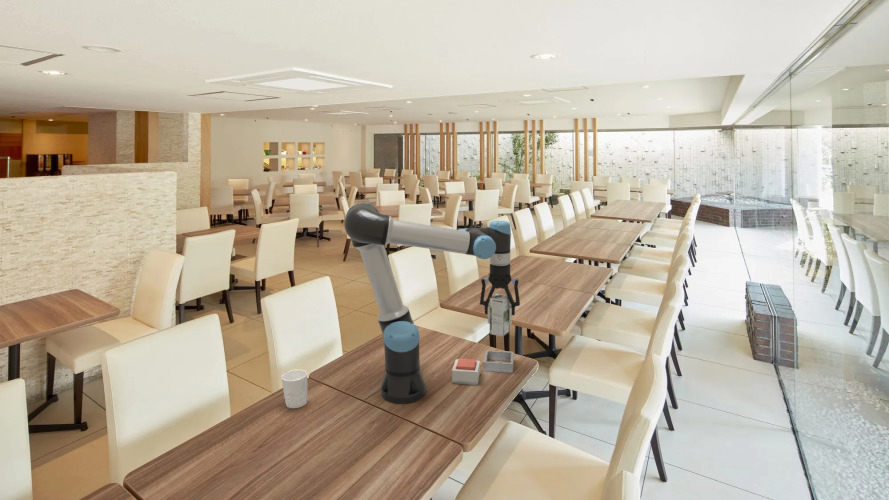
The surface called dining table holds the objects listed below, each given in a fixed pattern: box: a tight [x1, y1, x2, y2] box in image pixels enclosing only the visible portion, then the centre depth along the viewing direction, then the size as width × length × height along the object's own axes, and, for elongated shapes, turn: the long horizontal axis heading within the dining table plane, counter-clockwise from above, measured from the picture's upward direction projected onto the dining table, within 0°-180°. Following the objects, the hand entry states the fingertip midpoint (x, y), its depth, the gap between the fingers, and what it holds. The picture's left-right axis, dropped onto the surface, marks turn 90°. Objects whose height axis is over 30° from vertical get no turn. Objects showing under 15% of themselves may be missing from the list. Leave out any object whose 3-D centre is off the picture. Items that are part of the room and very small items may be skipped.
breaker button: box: [456, 358, 477, 371], centre depth 164 cm, size 6×6×5 cm
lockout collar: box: [482, 349, 515, 374], centre depth 174 cm, size 11×11×4 cm
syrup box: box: [489, 293, 511, 337], centre depth 171 cm, size 6×6×14 cm
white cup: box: [280, 369, 308, 409], centre depth 149 cm, size 8×8×10 cm
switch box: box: [451, 358, 481, 386], centre depth 165 cm, size 9×9×5 cm
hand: (499, 322), depth 171 cm, fingers closed on syrup box, 7 cm apart
